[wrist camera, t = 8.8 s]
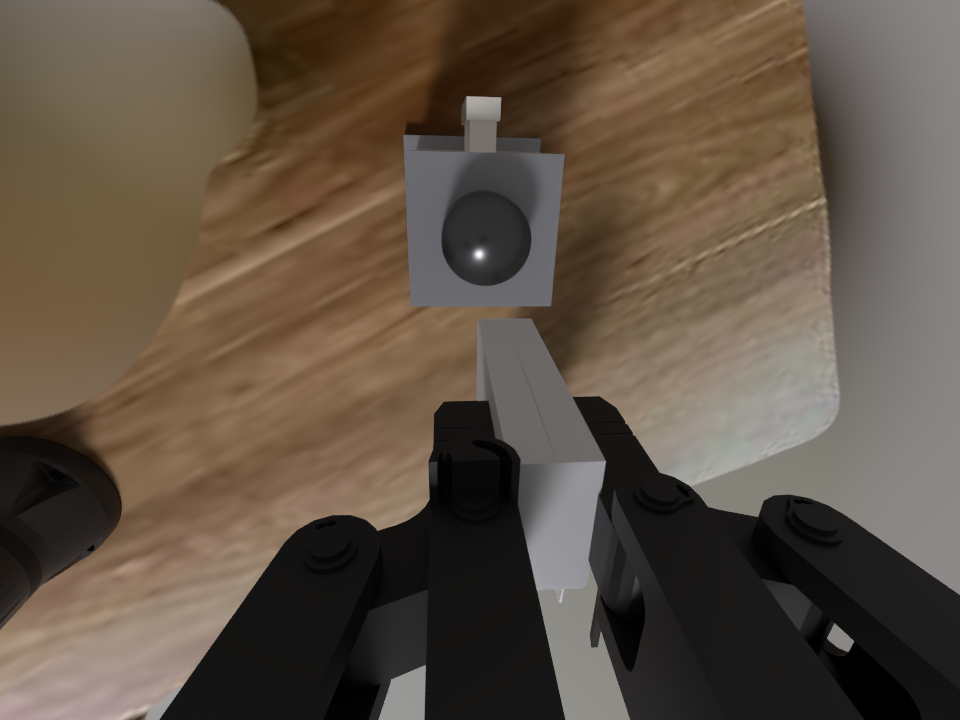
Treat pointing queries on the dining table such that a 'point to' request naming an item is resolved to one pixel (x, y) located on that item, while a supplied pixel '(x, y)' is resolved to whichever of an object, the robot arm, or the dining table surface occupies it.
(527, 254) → the dark gray domed cylinder
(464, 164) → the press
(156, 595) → the dining table surface
